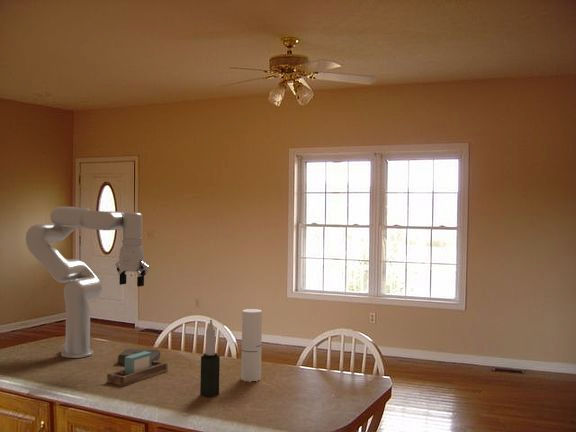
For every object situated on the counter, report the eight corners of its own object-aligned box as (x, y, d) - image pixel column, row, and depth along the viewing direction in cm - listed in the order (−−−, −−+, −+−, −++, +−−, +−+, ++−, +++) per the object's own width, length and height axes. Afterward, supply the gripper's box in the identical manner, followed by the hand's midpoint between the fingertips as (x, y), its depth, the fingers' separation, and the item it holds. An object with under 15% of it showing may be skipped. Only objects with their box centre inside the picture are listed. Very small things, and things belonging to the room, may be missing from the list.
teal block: (124, 376, 203) (124, 356, 203) (144, 369, 212) (144, 351, 212) (131, 377, 202) (132, 358, 202) (151, 371, 210) (151, 352, 210)
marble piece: (151, 368, 219) (151, 358, 219) (113, 367, 219) (113, 357, 219) (162, 357, 235) (162, 347, 235) (127, 356, 236) (127, 346, 236)
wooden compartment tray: (107, 382, 199) (107, 373, 199) (150, 367, 218) (151, 360, 218) (124, 386, 195) (124, 377, 195) (167, 371, 214) (167, 363, 214)
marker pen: (210, 398, 185) (212, 321, 185) (198, 395, 188) (200, 319, 187) (220, 393, 189) (221, 319, 189) (208, 391, 192) (210, 317, 192)
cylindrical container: (264, 379, 207) (266, 310, 207) (250, 383, 202) (251, 313, 201) (251, 375, 212) (252, 308, 211) (237, 378, 206) (238, 310, 206)
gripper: (109, 242, 230) (109, 284, 230) (141, 244, 221) (140, 288, 221) (123, 241, 236) (122, 282, 236) (154, 243, 228) (154, 286, 228)
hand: (131, 285), depth 229 cm, fingers open, 9 cm apart
